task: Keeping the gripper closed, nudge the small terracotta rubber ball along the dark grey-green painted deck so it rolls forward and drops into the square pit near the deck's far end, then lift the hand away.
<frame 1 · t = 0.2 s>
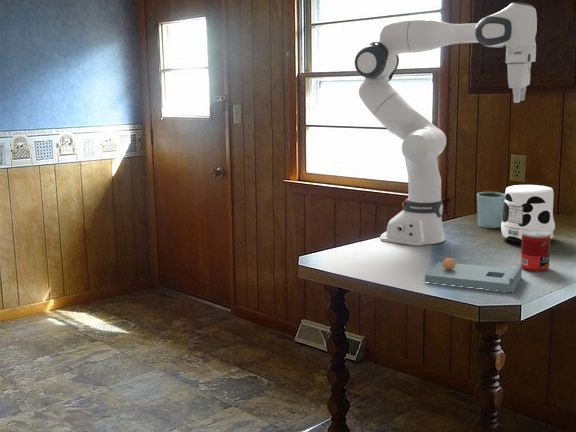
hand: (519, 101, 217), 48 cm above the table, tool pointing down, fingers open, 8 cm apart
pale blue cup: (490, 225, 258), on the table
milk container: (527, 241, 235), on the table
ball: (449, 264, 198), point 4 cm above the table, touching deck
deck: (473, 280, 195), on the table
canned food: (534, 269, 204), on the table
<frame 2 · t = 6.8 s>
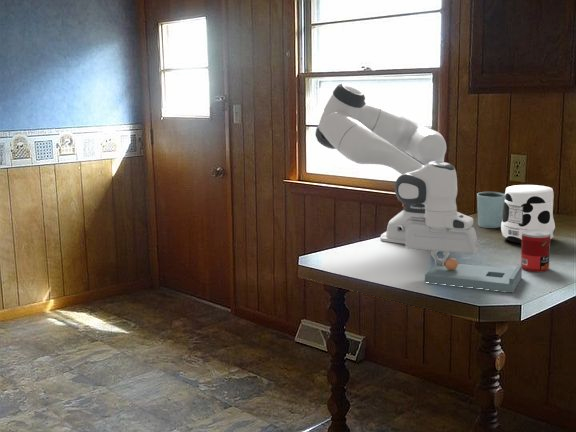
hand: (440, 265, 199), 4 cm above the table, tool pointing down, fingers closed
ball: (451, 264, 197), point 4 cm above the table, tilted 22°, touching deck, gripper
everything else where it was.
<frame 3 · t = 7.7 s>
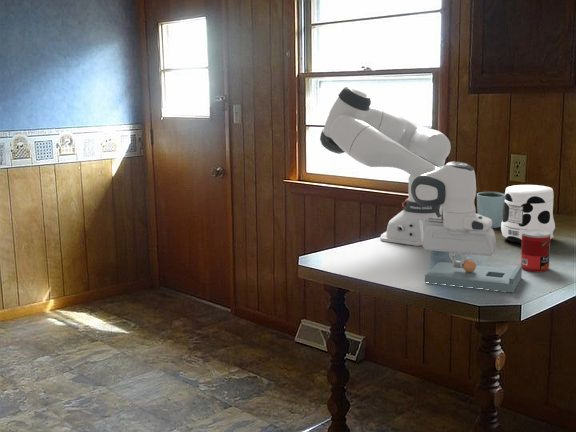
hand: (458, 267, 196), 4 cm above the table, tool pointing down, fingers closed
ball: (469, 266, 195), point 4 cm above the table, tilted 173°, touching deck, gripper
everything else where it was.
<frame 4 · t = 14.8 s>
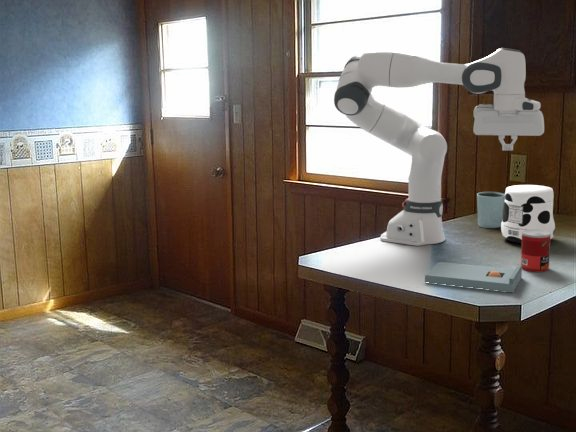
hand: (507, 150, 208), 34 cm above the table, tool pointing down, fingers closed
ball: (494, 277, 192), point 2 cm above the table, tilted 111°
everything else where it was.
at the end: ball 0.1 cm from the target spot on the deck, point 1.7 cm above the deck's base; ball touching table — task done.
